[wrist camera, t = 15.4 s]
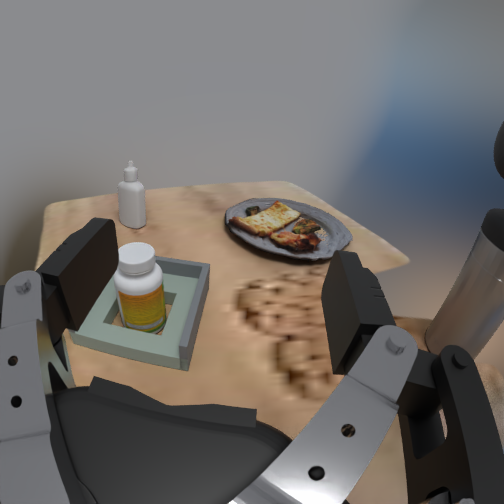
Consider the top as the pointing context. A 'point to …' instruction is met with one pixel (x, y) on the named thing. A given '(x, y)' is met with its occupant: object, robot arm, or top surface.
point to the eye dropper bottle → (131, 199)
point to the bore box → (176, 328)
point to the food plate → (287, 228)
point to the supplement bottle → (140, 288)
